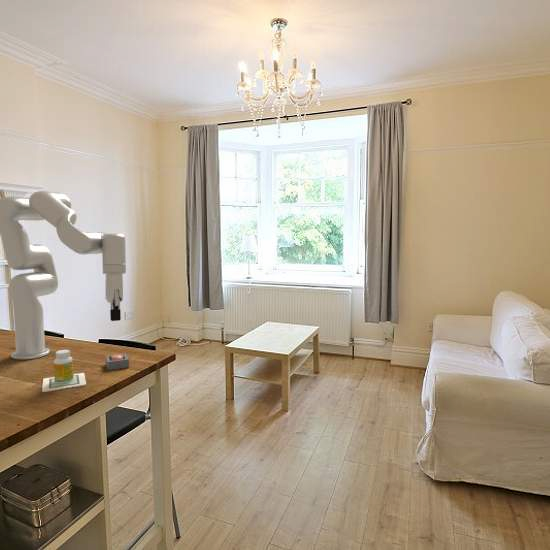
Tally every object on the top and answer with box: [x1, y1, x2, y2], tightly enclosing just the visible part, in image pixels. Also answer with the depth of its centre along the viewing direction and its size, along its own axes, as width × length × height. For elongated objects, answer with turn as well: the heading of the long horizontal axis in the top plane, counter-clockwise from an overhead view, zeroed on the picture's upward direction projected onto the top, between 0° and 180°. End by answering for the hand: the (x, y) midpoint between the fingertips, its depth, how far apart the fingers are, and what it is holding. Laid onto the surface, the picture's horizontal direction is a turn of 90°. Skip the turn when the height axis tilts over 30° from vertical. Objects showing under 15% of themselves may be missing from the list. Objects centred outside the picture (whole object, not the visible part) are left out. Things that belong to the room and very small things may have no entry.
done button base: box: [105, 353, 130, 371], centre depth 143 cm, size 7×7×3 cm
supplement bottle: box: [53, 349, 74, 384], centre depth 126 cm, size 5×5×10 cm
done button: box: [111, 354, 123, 361], centre depth 143 cm, size 4×4×2 cm
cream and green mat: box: [41, 372, 87, 393], centre depth 127 cm, size 11×12×1 cm
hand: (115, 320), depth 141 cm, fingers closed
